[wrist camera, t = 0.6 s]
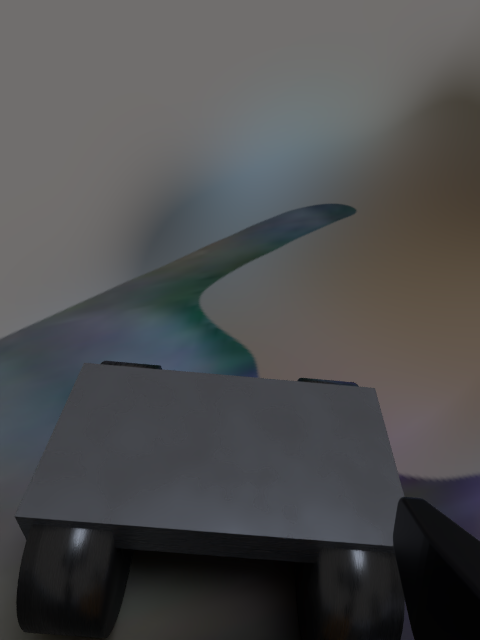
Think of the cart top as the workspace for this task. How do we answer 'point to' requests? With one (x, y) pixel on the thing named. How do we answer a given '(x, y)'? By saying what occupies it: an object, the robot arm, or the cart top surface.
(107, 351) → the cart top surface
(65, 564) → the trolley
